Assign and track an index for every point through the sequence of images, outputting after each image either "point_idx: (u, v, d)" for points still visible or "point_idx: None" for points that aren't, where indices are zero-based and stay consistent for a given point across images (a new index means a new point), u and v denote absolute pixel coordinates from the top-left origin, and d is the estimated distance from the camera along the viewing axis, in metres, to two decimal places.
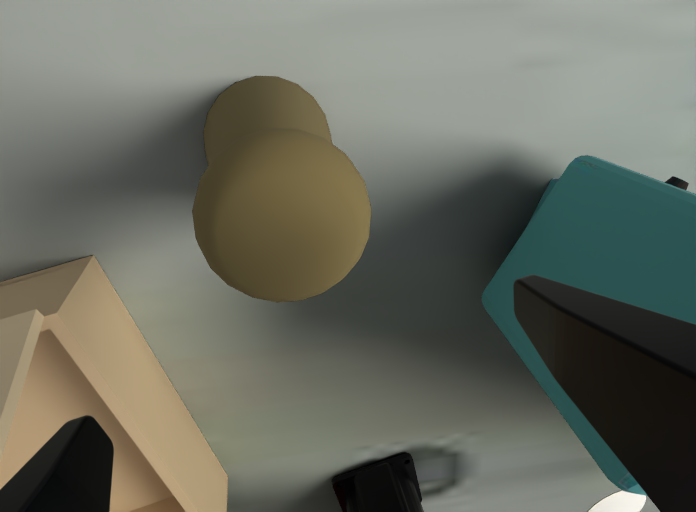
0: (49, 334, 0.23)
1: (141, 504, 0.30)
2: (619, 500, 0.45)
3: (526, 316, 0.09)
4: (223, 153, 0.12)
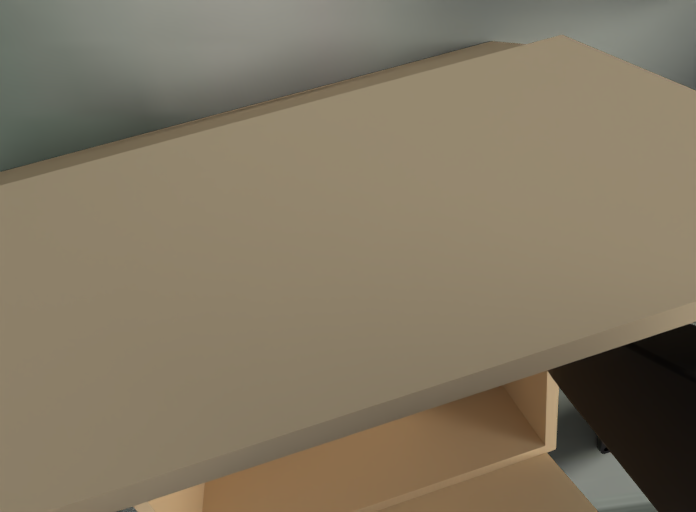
0: None
1: None
2: None
3: None
4: None
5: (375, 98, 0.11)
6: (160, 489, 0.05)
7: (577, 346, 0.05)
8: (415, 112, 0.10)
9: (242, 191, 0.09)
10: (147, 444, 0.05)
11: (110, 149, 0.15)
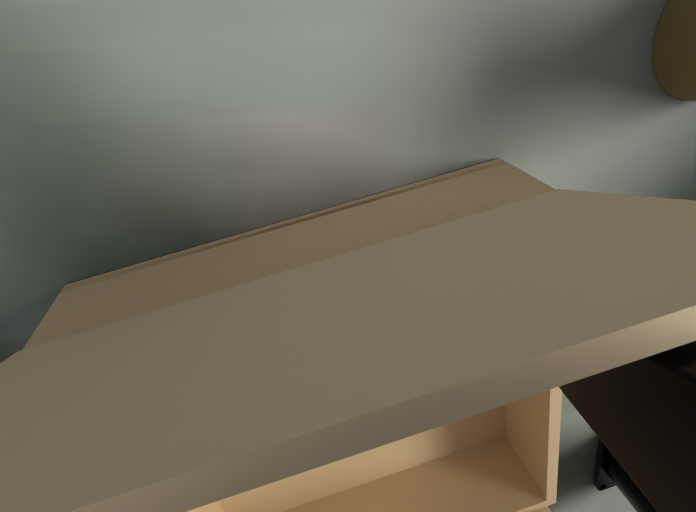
0: None
1: (429, 458, 0.27)
2: None
3: None
4: None
5: (400, 242, 0.13)
6: (169, 502, 0.05)
7: (571, 356, 0.06)
8: (432, 244, 0.12)
9: (284, 305, 0.11)
10: (166, 459, 0.06)
11: (167, 269, 0.17)
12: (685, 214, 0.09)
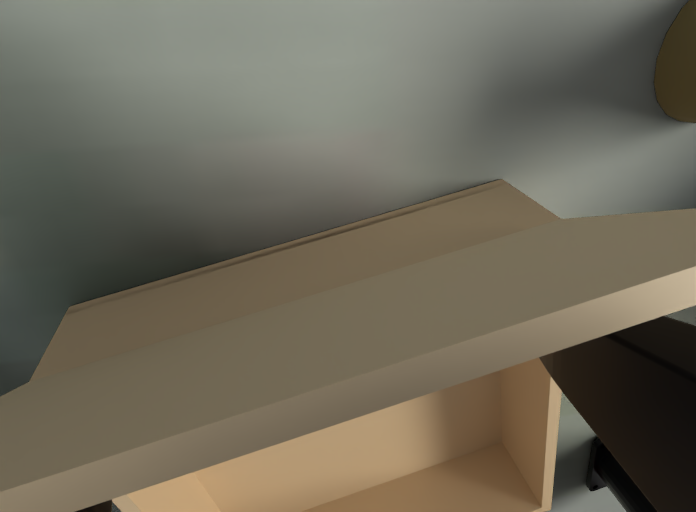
0: None
1: (427, 465, 0.28)
2: None
3: None
4: None
5: (405, 270, 0.14)
6: (158, 466, 0.05)
7: (561, 321, 0.06)
8: (435, 267, 0.12)
9: (288, 321, 0.11)
10: (158, 428, 0.06)
11: (173, 293, 0.17)
12: (678, 218, 0.09)
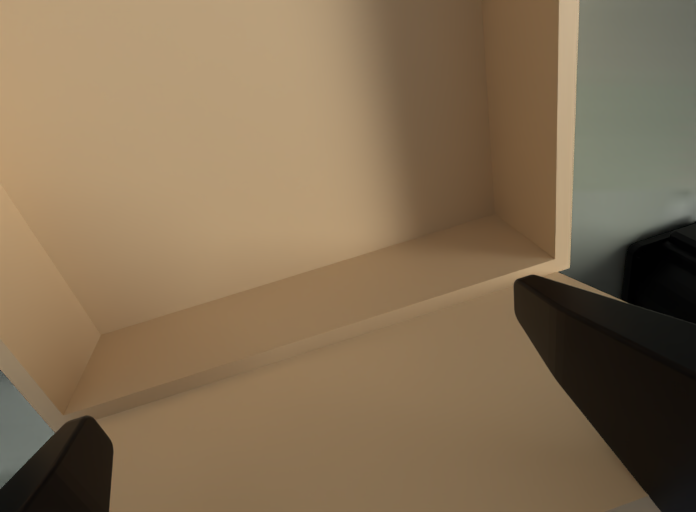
0: None
1: (385, 241, 0.19)
2: None
3: (526, 316, 0.09)
4: None
5: None
6: None
7: None
8: None
9: None
10: None
11: None
12: None
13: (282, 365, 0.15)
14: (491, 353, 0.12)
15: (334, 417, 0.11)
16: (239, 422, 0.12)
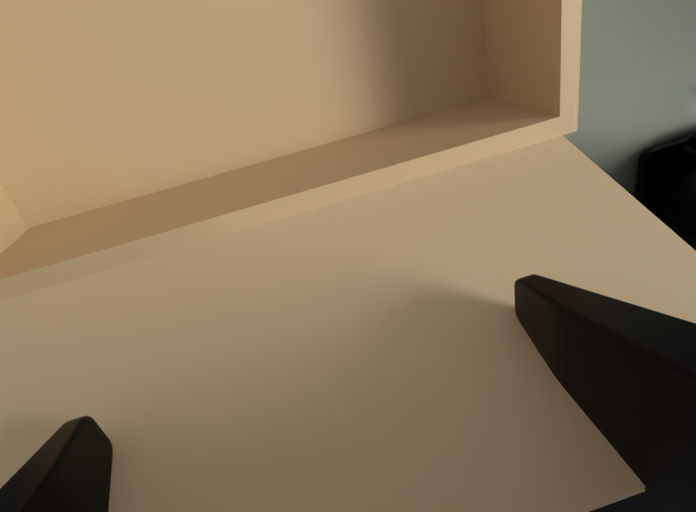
0: None
1: (362, 125, 0.17)
2: None
3: (527, 316, 0.09)
4: None
5: None
6: None
7: None
8: None
9: None
10: None
11: None
12: None
13: (232, 243, 0.12)
14: (485, 260, 0.11)
15: (306, 337, 0.10)
16: (190, 328, 0.11)
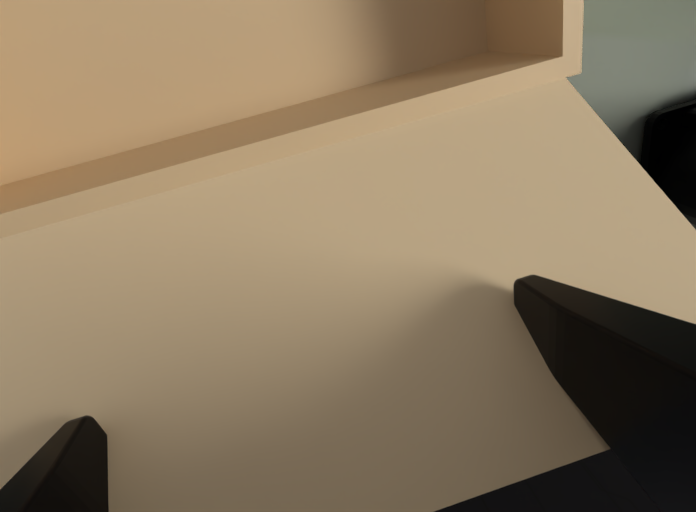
0: None
1: (354, 79, 0.16)
2: None
3: (526, 316, 0.09)
4: None
5: None
6: None
7: None
8: None
9: None
10: None
11: None
12: None
13: (213, 190, 0.12)
14: (478, 220, 0.11)
15: (296, 297, 0.10)
16: (175, 285, 0.10)
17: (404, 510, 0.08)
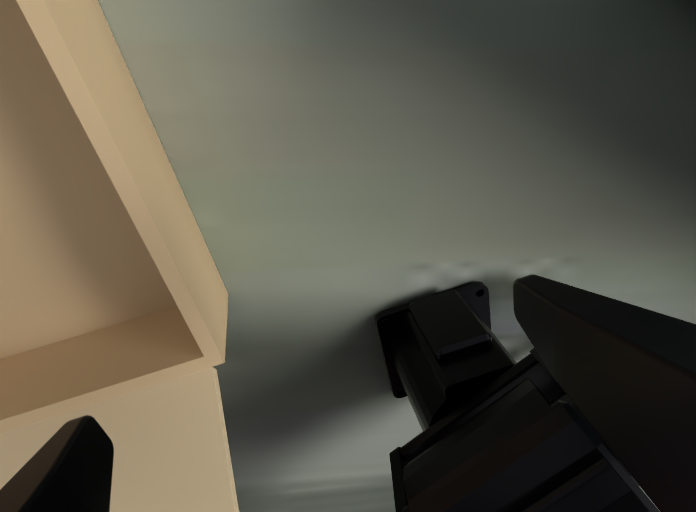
0: None
1: (100, 323, 0.20)
2: None
3: (526, 316, 0.09)
4: None
5: None
6: None
7: None
8: None
9: None
10: None
11: None
12: None
13: None
14: None
15: None
16: None
17: None
